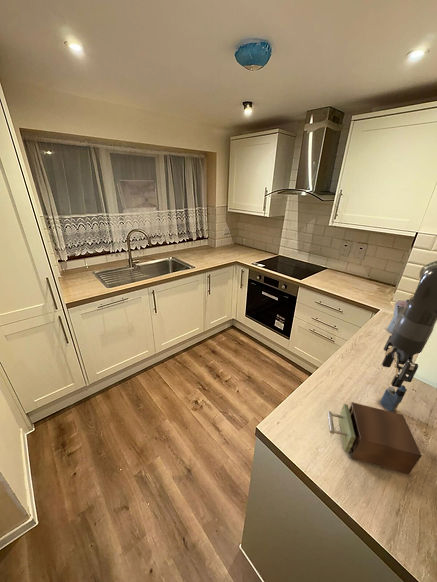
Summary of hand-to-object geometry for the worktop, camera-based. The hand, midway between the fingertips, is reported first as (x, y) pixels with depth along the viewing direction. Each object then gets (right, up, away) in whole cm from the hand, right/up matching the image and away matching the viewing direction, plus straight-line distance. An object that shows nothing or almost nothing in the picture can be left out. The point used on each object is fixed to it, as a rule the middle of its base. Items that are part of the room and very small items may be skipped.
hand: (390, 375), depth 72 cm
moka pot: (+47, +3, +59) cm, 75 cm away
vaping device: (+9, -17, +14) cm, 24 cm away
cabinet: (-4, -22, +1) cm, 23 cm away
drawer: (-9, -21, +2) cm, 23 cm away
